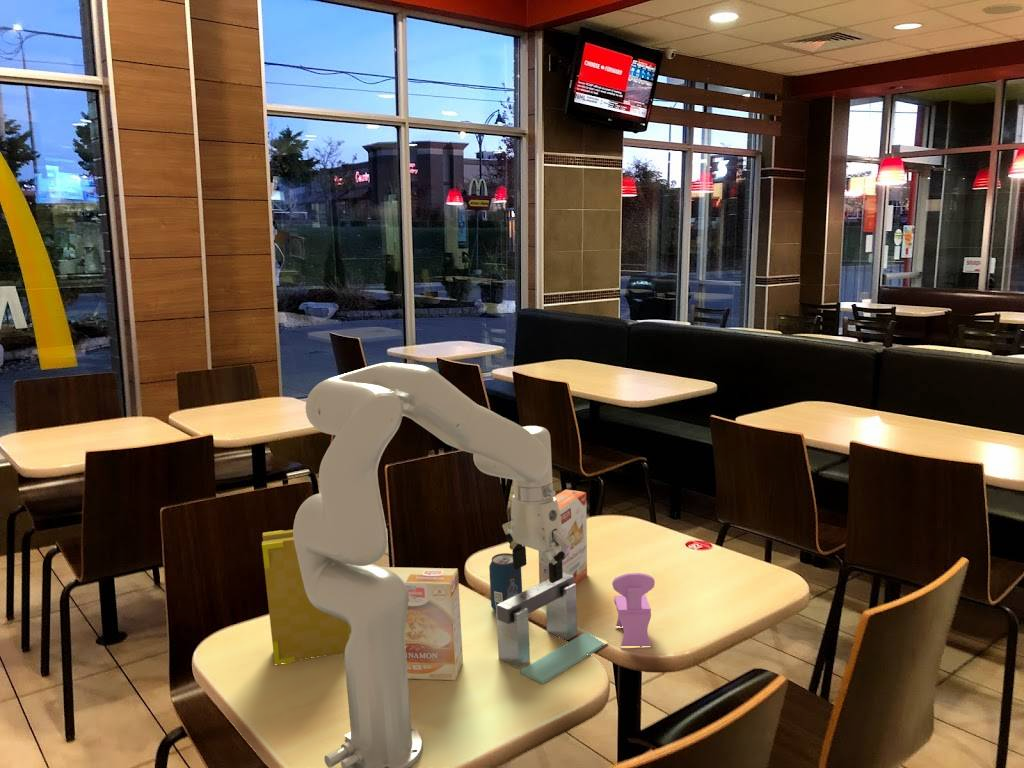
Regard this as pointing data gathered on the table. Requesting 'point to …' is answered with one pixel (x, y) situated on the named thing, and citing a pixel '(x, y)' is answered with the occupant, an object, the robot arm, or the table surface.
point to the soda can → (504, 579)
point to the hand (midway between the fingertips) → (537, 573)
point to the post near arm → (514, 639)
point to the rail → (533, 598)
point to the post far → (563, 614)
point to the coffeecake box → (432, 622)
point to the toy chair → (633, 607)
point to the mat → (562, 658)
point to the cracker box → (570, 536)
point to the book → (296, 606)
